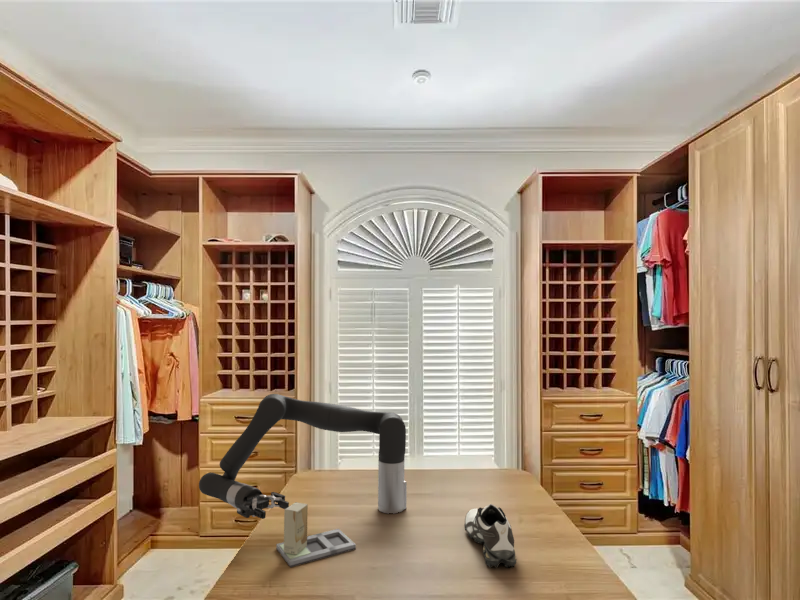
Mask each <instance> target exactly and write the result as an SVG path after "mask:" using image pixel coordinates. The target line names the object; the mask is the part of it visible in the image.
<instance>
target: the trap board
mask: <svg viewBox="0 0 800 600" xmlns="http://www.w3.org/2000/svg"><path fill="white" fill-rule="evenodd" d="M356 545H357V544H356V543H355V542H354V541H353V540H352V539H351V538H349V537H348V536H347V535H346V534H345V533H344V532H343V531H342V530H341V529H340V528H335V529H331V530H326V531H324V532H319V533H316V534H312V535H307V546H306V547H305V548H304V549H303V550H302V551H300V552H299V553H298V554H296V555H295V554H290V553H285V552H284V541H283V542H279V543H276V546H275V547H276V548H275V549H276V551H277V553H279V554H281V555H280V557H282V559H283V560H284V562H285V563H286V562H287V563H286V564H287V565H288V566H290V567H289V568H292V567H297V566H300V564H301V565H304V563H305V564H307V563H311V562H316V561H319V560H322V559H325V558H329V557H334V556H337V555H341V554H344V553H347V552H352V551H354V550H356V548H357V547H356Z"/></svg>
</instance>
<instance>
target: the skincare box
mask: <svg viewBox="0 0 800 600" xmlns="http://www.w3.org/2000/svg"><path fill="white" fill-rule="evenodd" d="M308 507H309V505H308V503H304V502H294V503H292V504H291V505H290V504H289V507H288V508H286V509H283V511H284V514H283V515H284V516H283V517H284V518H283V519H284V520H283V542H284V552H285V553H290V554H295V555H296V554H298V553H299V552H300V551H302V550H303V549H304V548H305V547H306V546H307V536H308V515H309V514H308V512H309V511H308V509H309V508H308Z"/></svg>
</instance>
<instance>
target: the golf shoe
mask: <svg viewBox="0 0 800 600" xmlns="http://www.w3.org/2000/svg"><path fill="white" fill-rule="evenodd" d="M463 526H464V531H465V532H466V533H467V536H468V537H469V538H470V539H471V540H472V539H473V540H474V542H476V544H481V545H482V544H483V548H482V554H483V558H484V563H485V565H486V566H487V567H489V568H492V567H495V569H496V568H498V567H499V564H501V563H502V564H503V566H504V567H505V568H509V567H510V566H512V567H513V566H514V567H515V565H516V564H517V556H516V551H515V538H514V534H513V529H512V526H511V523H510V521H509V520H508V518H507V515H506V513H505V512H504V510H503V509H502V508H501V507H497V505H495V504H492V503H489V504H488V505H486V506H484V507H478V508H471V509H470V510H469V511H467V512H466V514H465V518H464V525H463Z"/></svg>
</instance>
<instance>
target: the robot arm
mask: <svg viewBox="0 0 800 600" xmlns="http://www.w3.org/2000/svg"><path fill="white" fill-rule="evenodd" d="M281 420H285V421H287V420H289V421H296V422H301V423H304V424H306V425H309V426H311V427H312V428H313V427H314V428H316V429H319V430H322V431H331V432H335V433H348V432H349V433H351V432H366V433H367V432H368V433H373V434H376V435H379V437H378V438H379V439H378V440H379V444H378V446H379V448H378V464H377V465H378V467H377V469H378V471H377V472H378V473H377V474H378V475H377V477H378V480H377V481H378V482H377V483H378V484H377V485H378V486H377V489H378V490H377V493H378V494H377V496H378V497H377V509H378V510H379V512H381V513H383V514H384V513H385V514H389V513H393V514H398V512H399V513H401V512H403V511H404V510H406V509H407V500H408V499H407V497H408V496H407V493H408V492H407V489H408V488H407V485H408V484H407V481H406V480H405V457H406V456H405V455H406V447H407V446H406V444H407V443H406V441H407V433H406V432H407V429H406V428H407V427H406V423H405V422H404V420H403V418H402V417H401V416H400V415H399V414H398V413H395V412H386V411H372V410H370V411H369V410H366V409H365V410H364V409H360V408H356V407H351V406H347V405H342V404H335V403H330V402H320V401H311V400H310V401H309V400H302V399H301V400H300V399H297V398H293V397H289V396H285V395H281V394H278V393H270V394H268V395H265V397H263V398H262V400H261V401H260V402H259V403H258V406H257V409H256V411H255V413H254V415H253V417H252V419H251V420H250V422H249V424H248V425H247V427H246V428H245V430H243V432H242V433H241V434H240V436H238V438H237V439H236V440H235V441H234V443H233V444H232V445H231V446H230V448H229V449H228V450H227V452H226V453H225V454H224V456H222V458H221V460H220V461H219V467H220V470H222V471H223V474H218V473H216V472H207V473H204V474H203V475H202V476H201V478H200V479H199V481H198V488H199V491H200V492H201V493H202V494H203V495H206V496H209V497H212V498H215V499H219V500H221V501H222V502H224V503H226V504H229V505H230V506H232V507H233V508H235V509H236V514H238V515H239V516H241V517H243V518H246V519H249V518H250V517H257V518H259V519H262V520H264V519H265V518H266V517H267V516H266V511H265V510H264V509H274V508H277V507H278V508H280V509H283V510H285V509H286V508H288V507H289V506H290V502H289V501H287V500H286V495H285V494H281V493H278V492H275V491H271V493H270V495H266V494H263V493H262V491H261V490H260V489H259V488H257V487H255V486H253V485H249V484H247V483H244V482H239V481H237V480H236V478H237V476H238V474H239V471H240V470H242V468H243V466H244V465H245V463H246V462H247V461H248V459H249V458H250V456H251V455H252V454H253V452H254V450H255V449H256V447H257V446H258V444H259V443H260V441H261V440H262V439H263V437H265V435H266V434H267V433H268V432H269V431H270V430H271V429H272V428H273V427H274V426H275V425H276V424H277V423H278V422H279V421H281ZM270 503H271V504H270Z"/></svg>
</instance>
